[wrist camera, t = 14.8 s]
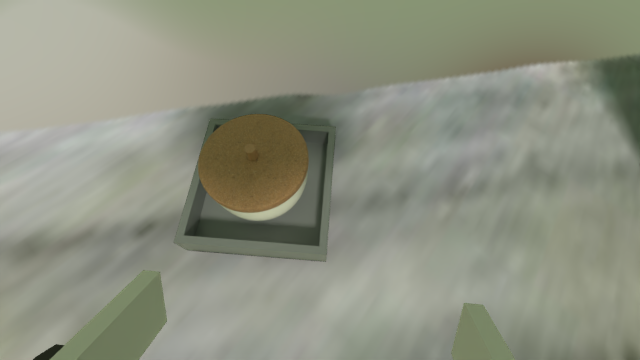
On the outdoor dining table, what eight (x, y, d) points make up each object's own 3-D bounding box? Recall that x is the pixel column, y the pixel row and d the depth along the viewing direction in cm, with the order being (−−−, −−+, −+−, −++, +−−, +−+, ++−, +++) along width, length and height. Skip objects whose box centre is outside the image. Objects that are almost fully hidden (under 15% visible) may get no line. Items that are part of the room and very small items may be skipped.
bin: (334, 142, 40) (335, 126, 37) (326, 261, 33) (326, 254, 30) (218, 134, 41) (210, 118, 38) (187, 250, 34) (173, 242, 31)
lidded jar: (203, 189, 36) (167, 148, 28) (271, 136, 40) (257, 85, 31) (260, 253, 33) (239, 228, 25) (329, 190, 36) (332, 148, 28)
